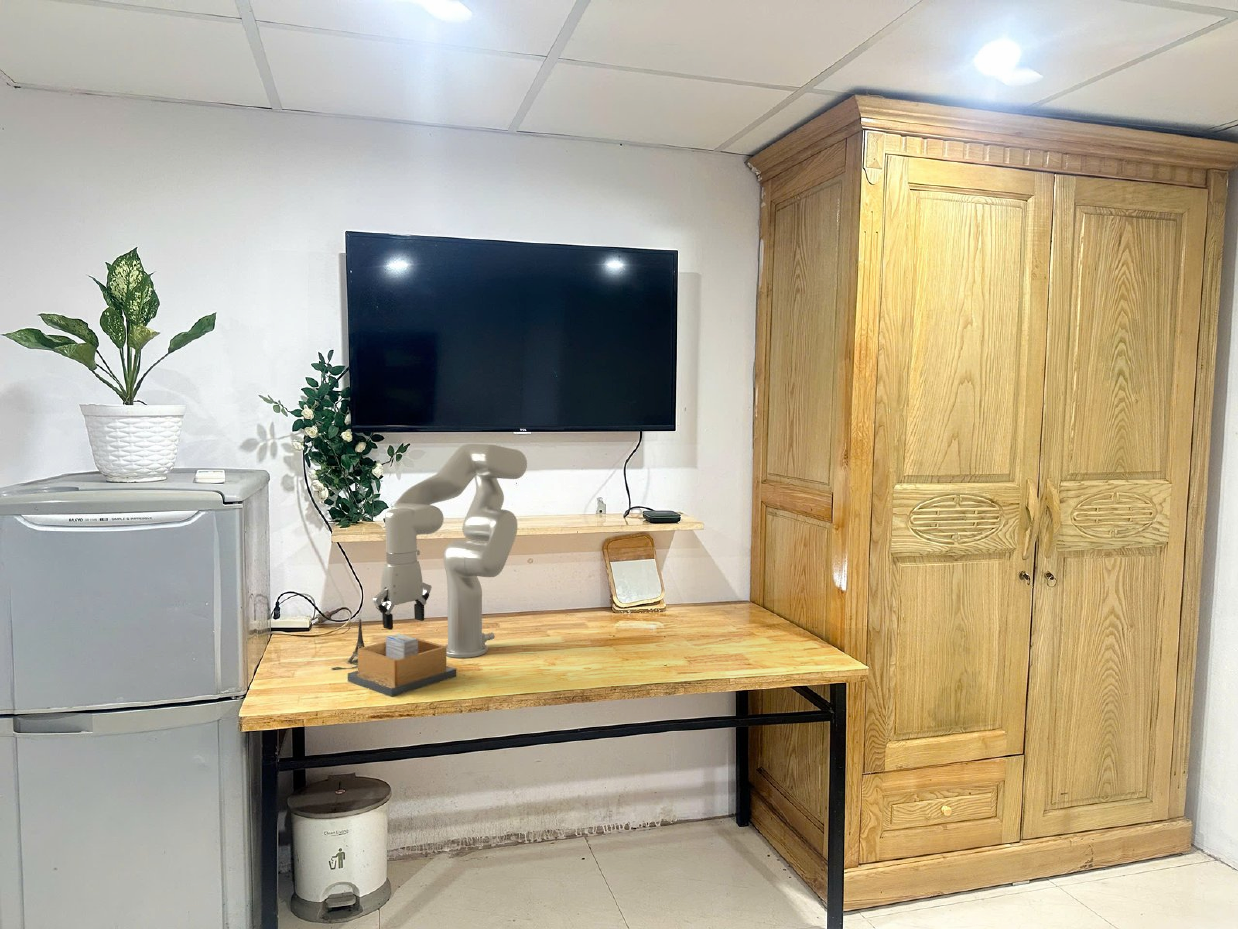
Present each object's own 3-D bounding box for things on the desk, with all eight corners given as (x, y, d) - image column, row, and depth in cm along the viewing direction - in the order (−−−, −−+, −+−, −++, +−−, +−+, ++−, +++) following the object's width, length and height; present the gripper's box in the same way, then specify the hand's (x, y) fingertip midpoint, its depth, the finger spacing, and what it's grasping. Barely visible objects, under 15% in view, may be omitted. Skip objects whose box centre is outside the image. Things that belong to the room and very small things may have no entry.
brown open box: (412, 662, 232) (411, 633, 231) (456, 676, 220) (456, 645, 220) (347, 681, 216) (347, 650, 215) (391, 696, 205) (391, 664, 204)
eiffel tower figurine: (330, 672, 224) (329, 622, 224) (330, 661, 234) (329, 613, 233) (389, 667, 229) (389, 618, 228) (387, 656, 239) (386, 609, 238)
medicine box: (419, 672, 217) (418, 638, 216) (404, 676, 214) (404, 642, 213) (400, 666, 222) (399, 633, 221) (385, 670, 219) (385, 636, 218)
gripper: (420, 550, 225) (422, 614, 227) (363, 561, 212) (366, 629, 213) (438, 554, 220) (440, 619, 222) (382, 565, 207) (384, 635, 209)
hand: (404, 624), depth 218 cm, fingers open, 9 cm apart
